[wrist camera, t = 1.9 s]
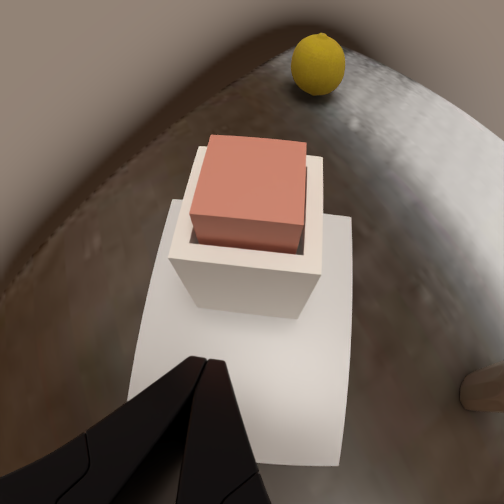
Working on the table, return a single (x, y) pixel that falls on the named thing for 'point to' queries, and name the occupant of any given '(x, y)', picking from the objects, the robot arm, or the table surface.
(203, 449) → the robot arm
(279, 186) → the salmon pink square block
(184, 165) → the table surface
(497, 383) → the takeaway coffee cup
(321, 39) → the lemon
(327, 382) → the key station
